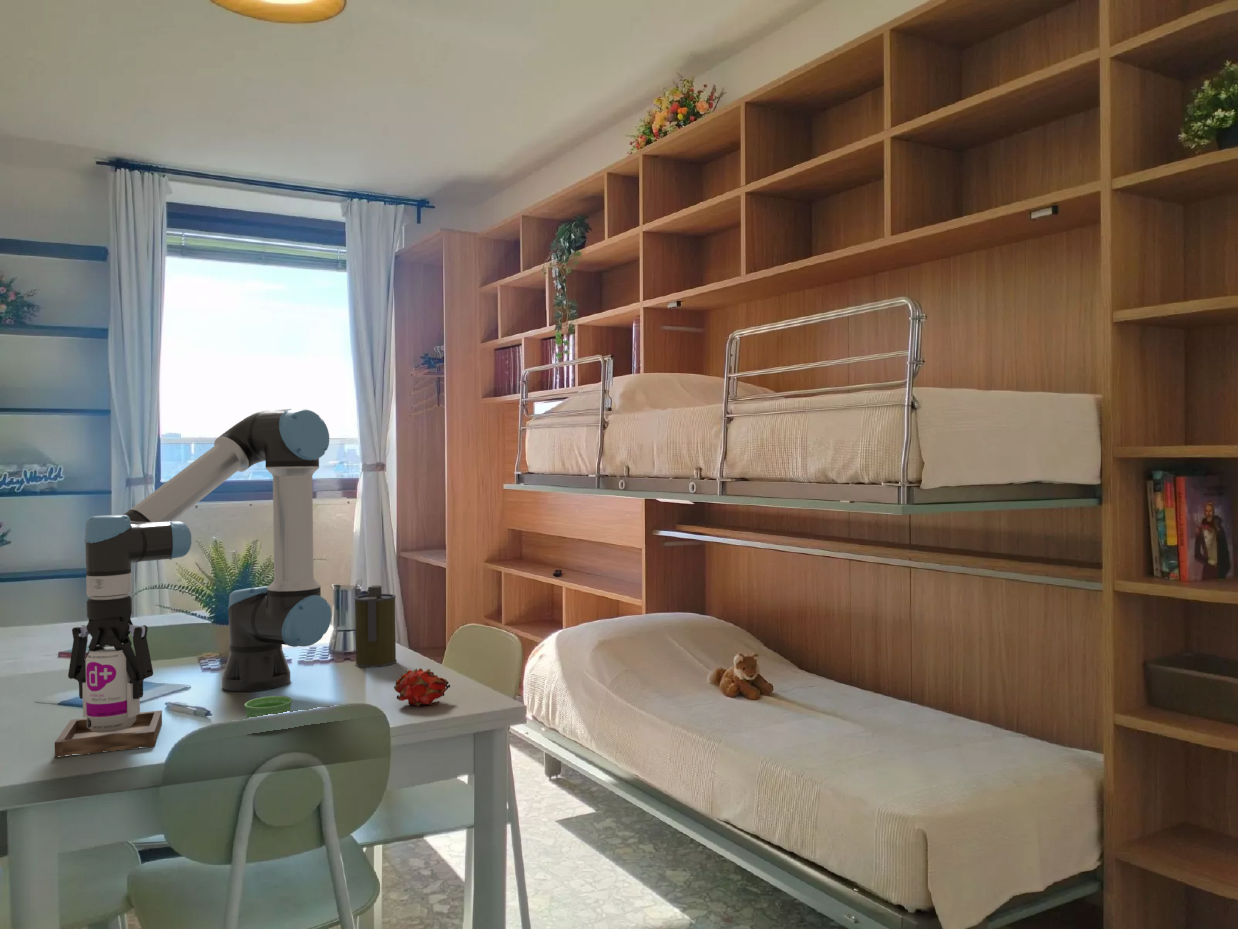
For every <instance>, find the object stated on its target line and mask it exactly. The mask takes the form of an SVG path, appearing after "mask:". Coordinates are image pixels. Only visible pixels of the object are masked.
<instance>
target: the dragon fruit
mask: <svg viewBox="0 0 1238 929" xmlns="http://www.w3.org/2000/svg"><path fill="white" fill-rule="evenodd" d="M450 688H451V684H450V682H449V681H448V680H447V679H445V678H444V677H439V676H438V675H436V674H435V673H434V672H433V671H431V669H430V668H427V669H426V670H424V669H422V668H419V669H418V668H415V669H414V670H411V669H406V672H404V673H401V675H400V677H399V678H397V680H395V685H394V687H393V689H394V691H395V692H396V693H398V694H397V695H396V699H397V700H398V701H400V702H401V701H407V704H408V705H409V706H411V707H412V706H416V707H419V706H420V705H429V706H436V705H438V704H439V703H440V700H438V699H439V698H441V697H445V692H447V690H448V689H450ZM434 700H438V701H434Z"/></svg>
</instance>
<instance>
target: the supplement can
mask: <svg viewBox="0 0 1238 929" xmlns="http://www.w3.org/2000/svg"><path fill="white" fill-rule="evenodd" d="M88 650H89V649H88ZM134 654H135V652H134ZM86 655H87V654H86ZM85 658H86V659H85V662H86V712H87V717H86V718H87V728H88V729H90V730H91V731H92V732H100V733H103V732H113V731H119V730H123V729H126V728H129V727H131V726H132V725H133V723H134V722H135V721H136V716H134V717H132V718H127V683H129V681H131V680H130V677H129V675H128V673H127V671H126V657H125V655H124V653H123V650H120V651H116V650H115V648H114V646H108V645H106V646H105V647H104V648H102V649H99V650H96V651H91V650H89V654H88V655H87V657H86V656H85Z"/></svg>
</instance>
